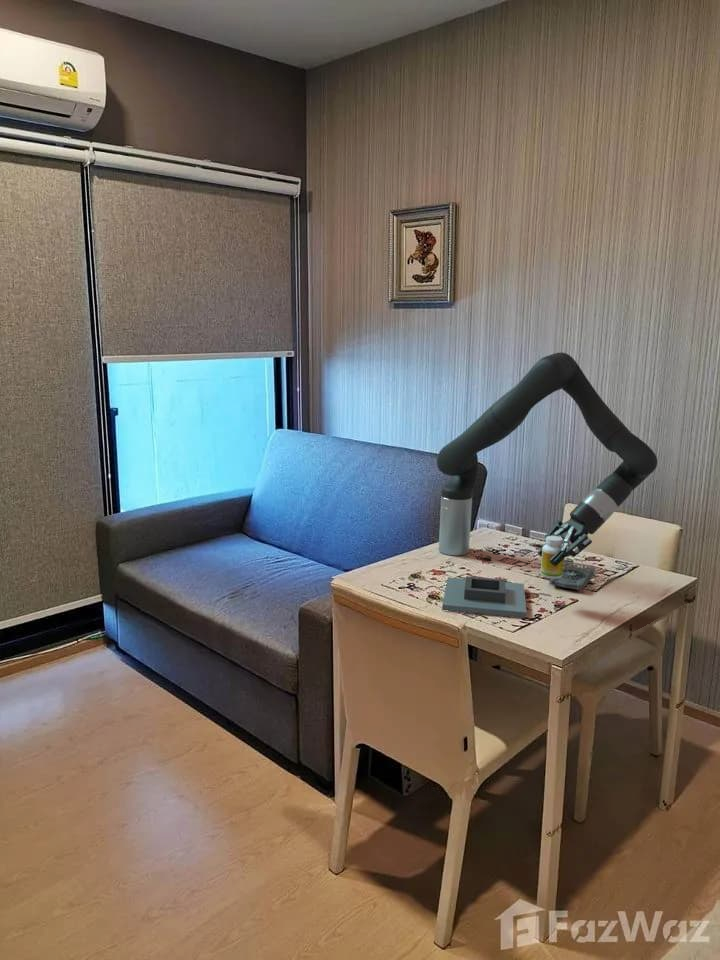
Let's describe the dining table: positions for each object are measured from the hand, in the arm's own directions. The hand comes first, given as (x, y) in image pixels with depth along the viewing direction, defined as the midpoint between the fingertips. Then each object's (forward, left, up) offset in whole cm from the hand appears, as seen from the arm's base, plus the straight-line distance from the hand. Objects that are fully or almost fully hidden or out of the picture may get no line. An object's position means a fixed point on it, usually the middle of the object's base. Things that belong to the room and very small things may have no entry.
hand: (546, 559), depth 184 cm
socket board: (-1, -14, -12) cm, 19 cm away
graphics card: (-20, +8, -13) cm, 25 cm away
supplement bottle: (-1, +2, -4) cm, 5 cm away
